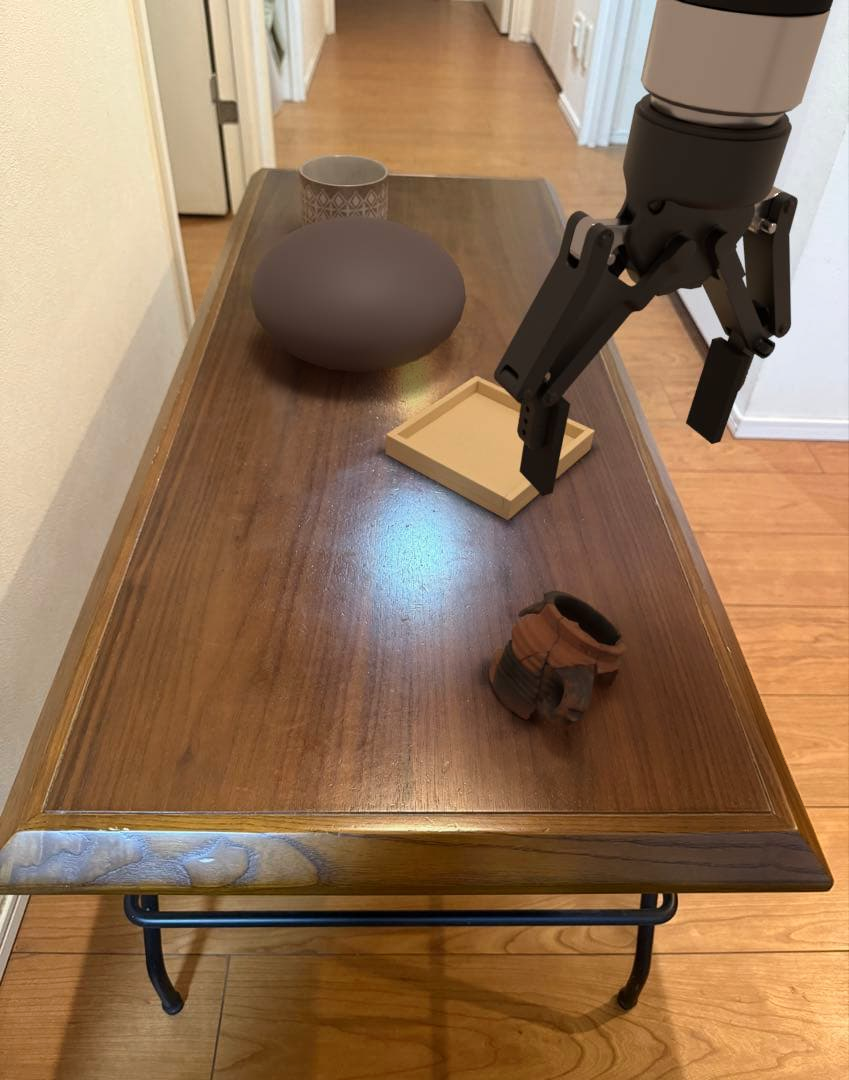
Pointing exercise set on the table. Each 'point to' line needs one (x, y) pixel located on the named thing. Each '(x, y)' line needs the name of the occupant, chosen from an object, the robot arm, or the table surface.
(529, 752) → the table surface
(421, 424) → the wooden tray
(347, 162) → the planter
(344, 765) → the table surface
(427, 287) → the smooth stone
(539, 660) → the pottery mug
